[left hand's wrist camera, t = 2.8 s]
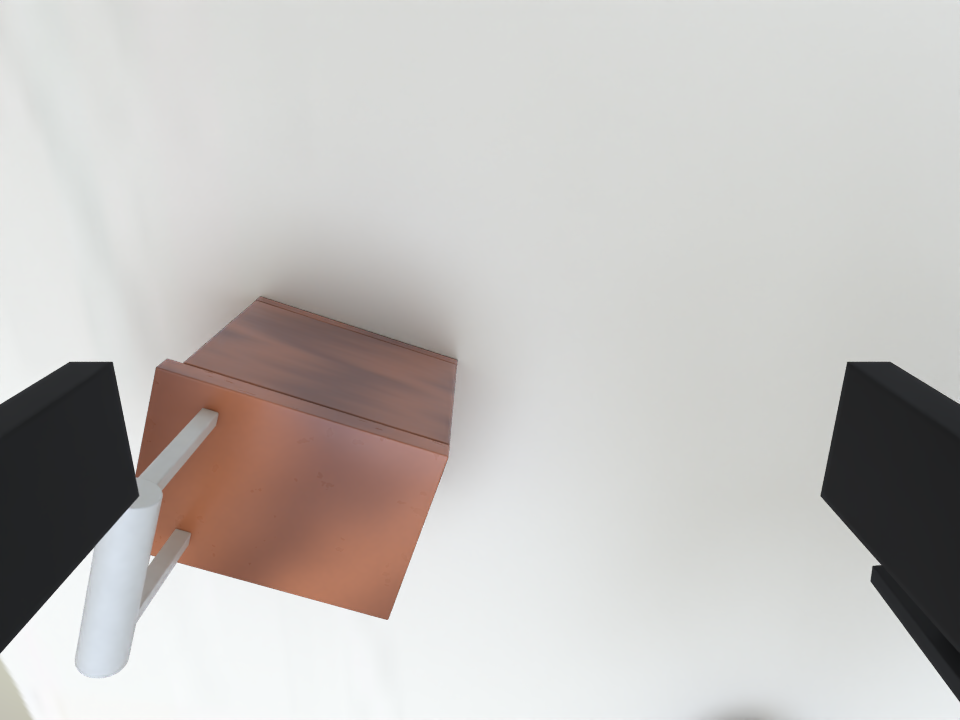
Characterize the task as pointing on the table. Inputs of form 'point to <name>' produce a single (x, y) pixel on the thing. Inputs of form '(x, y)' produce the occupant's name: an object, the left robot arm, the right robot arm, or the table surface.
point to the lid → (258, 505)
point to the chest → (335, 368)
